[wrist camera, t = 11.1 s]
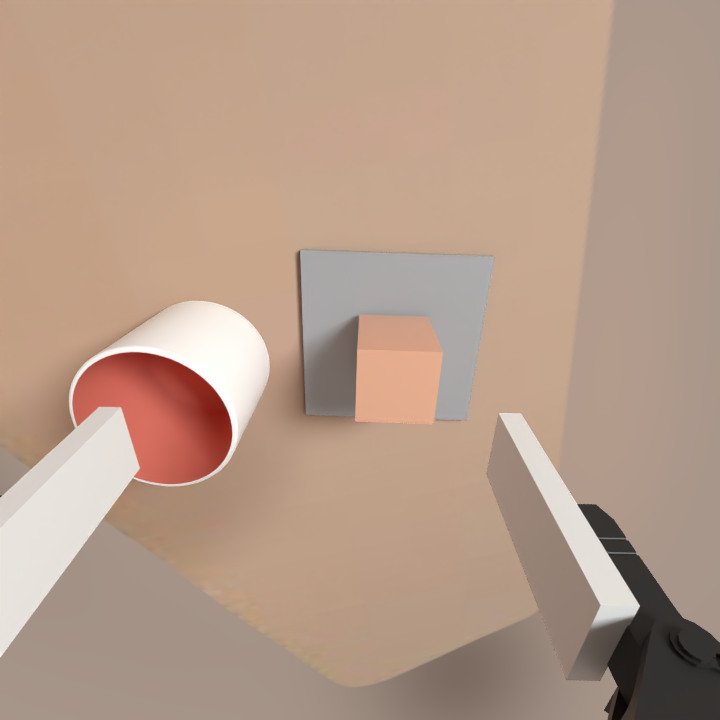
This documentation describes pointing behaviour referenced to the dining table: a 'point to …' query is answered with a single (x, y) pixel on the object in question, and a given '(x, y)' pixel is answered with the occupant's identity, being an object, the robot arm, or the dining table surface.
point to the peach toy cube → (397, 369)
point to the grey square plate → (396, 298)
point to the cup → (179, 389)
